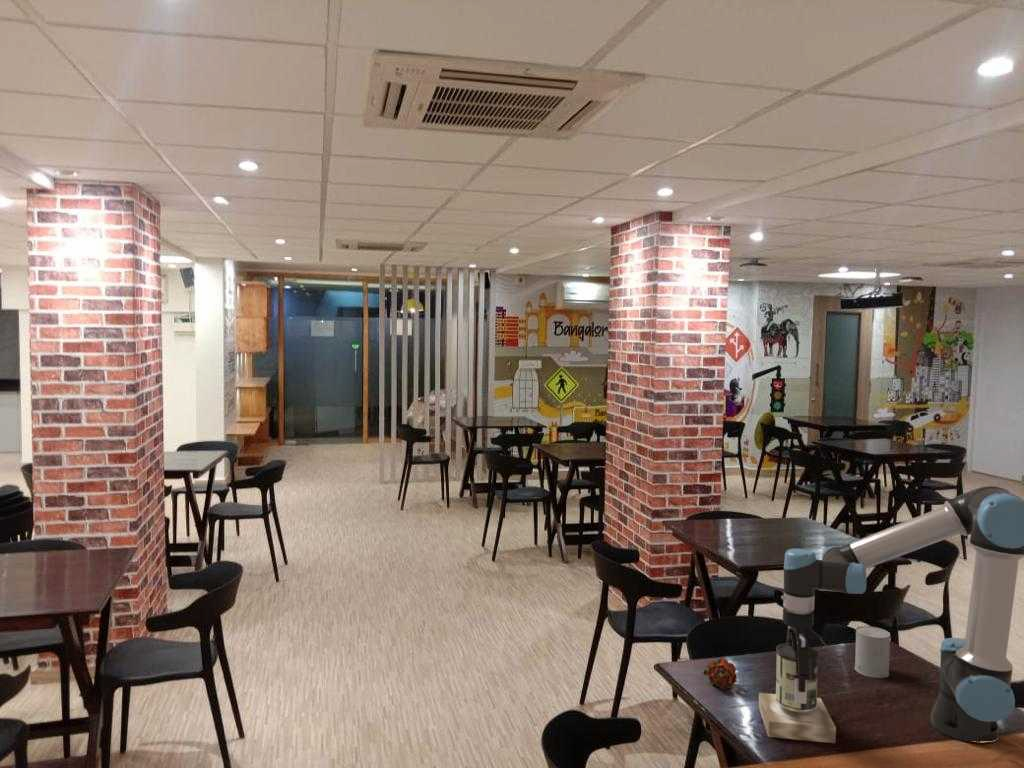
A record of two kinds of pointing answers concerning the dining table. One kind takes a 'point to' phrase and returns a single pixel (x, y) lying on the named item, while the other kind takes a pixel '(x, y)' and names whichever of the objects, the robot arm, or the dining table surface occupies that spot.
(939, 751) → the dining table surface
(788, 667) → the coffee can
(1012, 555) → the robot arm
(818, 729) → the stand
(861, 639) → the white cylinder
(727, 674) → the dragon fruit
